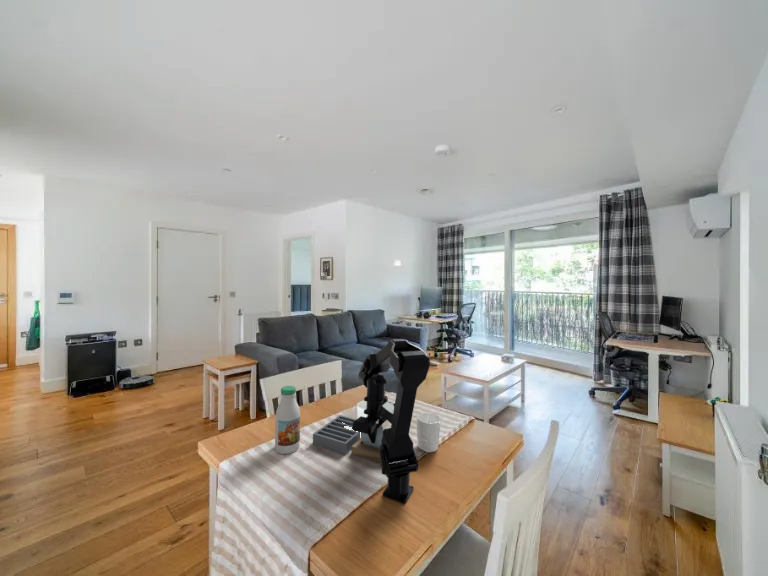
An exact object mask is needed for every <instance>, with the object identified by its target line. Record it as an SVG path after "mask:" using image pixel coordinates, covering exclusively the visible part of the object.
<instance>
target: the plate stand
mask: <svg viewBox="0 0 768 576" xmlns="http://www.w3.org/2000/svg"><path fill="white" fill-rule="evenodd" d="M350 451H351V455H353V456H356V457H359V458H361V459H362V458H363V459H364V460H368V461H371V462H375V463H377V464H380V465H381V462H380V454H379V451H380V450H379V449H378V448H374V447H371V446H368V445H364V444H363V442H362V438H360V439H359V440H358V441H357V442H356V443H355V444H354V445H353V446H352V449H351V450H350Z"/></svg>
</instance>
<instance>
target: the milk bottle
mask: <svg viewBox="0 0 768 576" xmlns="http://www.w3.org/2000/svg"><path fill="white" fill-rule="evenodd" d="M296 391H297V388H296V386H294V385H284V386H282V387H281V388H280V396H281V399H280V401H279V404H278V407H277V408H276V411H275V422H274V427H275V428H274V450H275V452H276V453H277V454H280V455H289V454H292V453H295V452H297V451H298V450H299V449H300V447H301V445H300V444H301V443H300V442H301V440H300V439H301V410H300V406H299V404H298V402H297V400H296V394H297V393H296Z"/></svg>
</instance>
